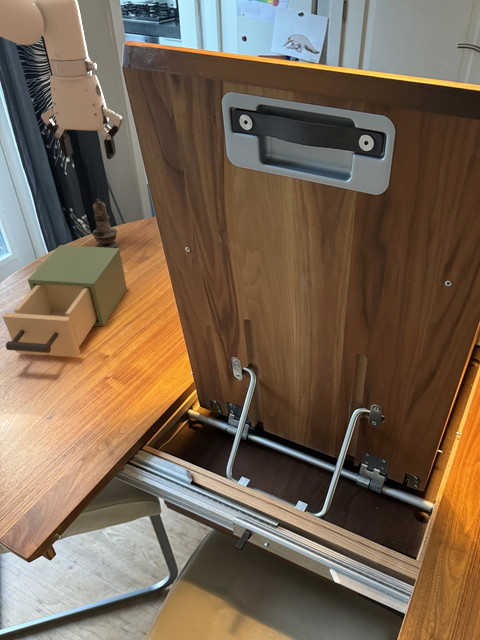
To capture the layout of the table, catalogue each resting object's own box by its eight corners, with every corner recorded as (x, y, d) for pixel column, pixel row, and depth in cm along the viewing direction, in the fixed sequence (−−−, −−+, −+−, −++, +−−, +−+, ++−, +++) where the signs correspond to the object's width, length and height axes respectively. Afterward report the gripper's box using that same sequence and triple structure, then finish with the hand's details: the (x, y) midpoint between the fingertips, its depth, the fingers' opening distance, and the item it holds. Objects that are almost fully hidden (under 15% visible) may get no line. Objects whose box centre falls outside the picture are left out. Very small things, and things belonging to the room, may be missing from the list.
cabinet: (103, 326, 101) (93, 283, 95) (41, 322, 102) (27, 279, 96) (127, 288, 113) (119, 248, 106) (70, 285, 113) (59, 244, 107)
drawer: (66, 374, 89) (55, 337, 84) (2, 369, 89) (-13, 332, 84) (104, 315, 103) (96, 281, 98) (48, 312, 103) (37, 277, 98)
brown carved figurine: (118, 239, 131) (109, 192, 124) (120, 249, 127) (111, 201, 119) (94, 242, 130) (83, 195, 122) (95, 252, 125) (84, 204, 118)
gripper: (119, 66, 106) (133, 152, 117) (37, 63, 107) (59, 149, 118) (106, 73, 100) (122, 163, 111) (20, 70, 101) (45, 160, 112)
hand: (90, 156), depth 115 cm, fingers open, 9 cm apart
